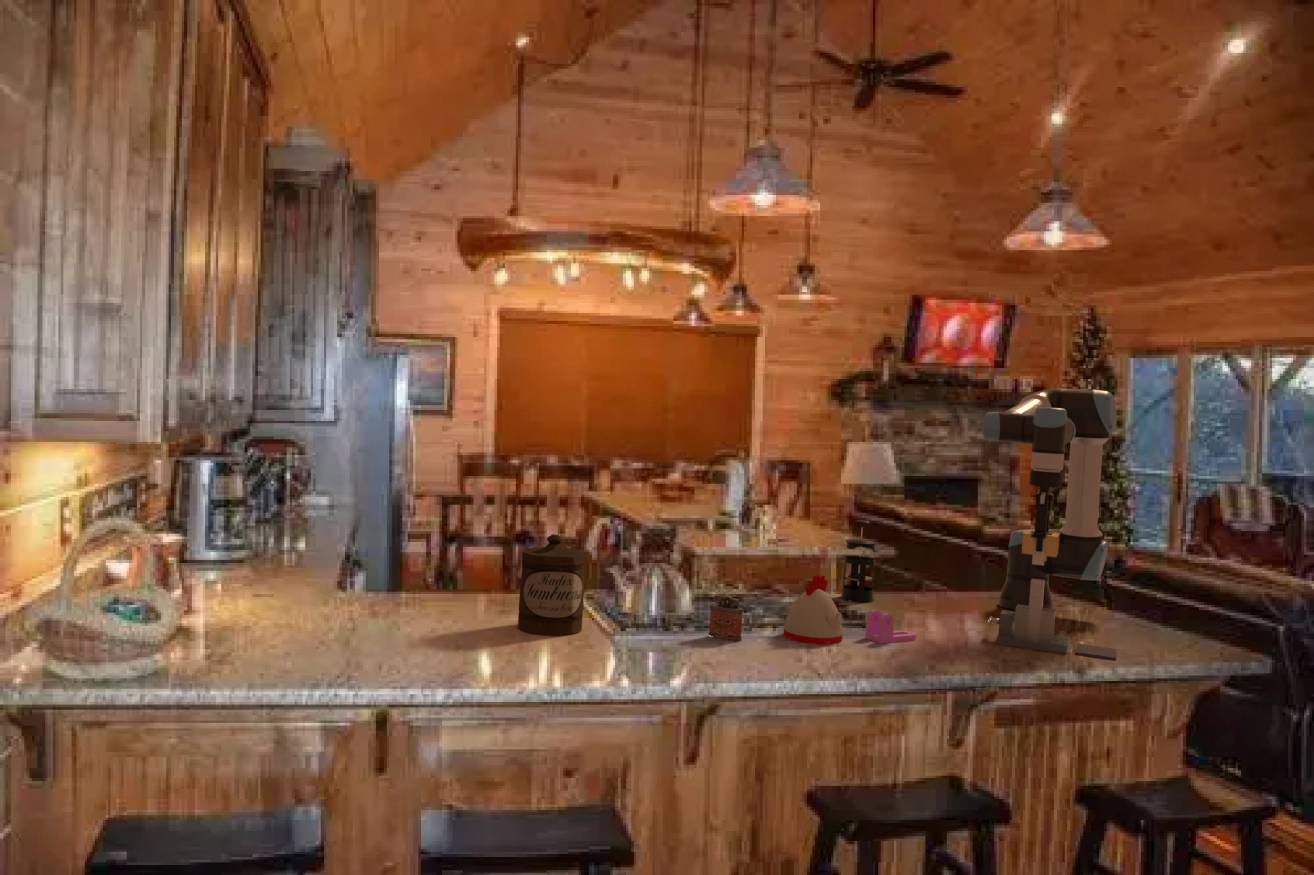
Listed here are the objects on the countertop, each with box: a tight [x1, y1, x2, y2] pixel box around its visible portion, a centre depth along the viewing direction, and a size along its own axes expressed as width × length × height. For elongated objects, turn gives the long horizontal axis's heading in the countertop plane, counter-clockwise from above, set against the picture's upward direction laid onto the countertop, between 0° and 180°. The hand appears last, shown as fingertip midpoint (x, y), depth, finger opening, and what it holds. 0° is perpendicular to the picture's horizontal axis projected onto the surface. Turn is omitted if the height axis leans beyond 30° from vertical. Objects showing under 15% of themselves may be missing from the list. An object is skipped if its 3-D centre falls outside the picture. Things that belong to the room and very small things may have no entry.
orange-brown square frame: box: [1022, 530, 1060, 557], centre depth 269 cm, size 8×8×5 cm
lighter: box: [708, 594, 744, 643], centre depth 254 cm, size 8×3×10 cm, turn 65°
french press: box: [840, 519, 878, 603], centre depth 317 cm, size 12×9×23 cm
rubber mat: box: [1075, 643, 1117, 661], centre depth 264 cm, size 11×9×1 cm
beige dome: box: [783, 575, 843, 646], centre depth 261 cm, size 14×14×15 cm
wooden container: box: [517, 533, 586, 637], centre depth 253 cm, size 15×15×22 cm
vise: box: [986, 579, 1070, 655], centre depth 270 cm, size 12×19×16 cm, turn 67°
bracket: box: [864, 609, 917, 644], centre depth 266 cm, size 13×6×7 cm, turn 121°
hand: (1039, 562), depth 269 cm, fingers closed on orange-brown square frame, 8 cm apart
